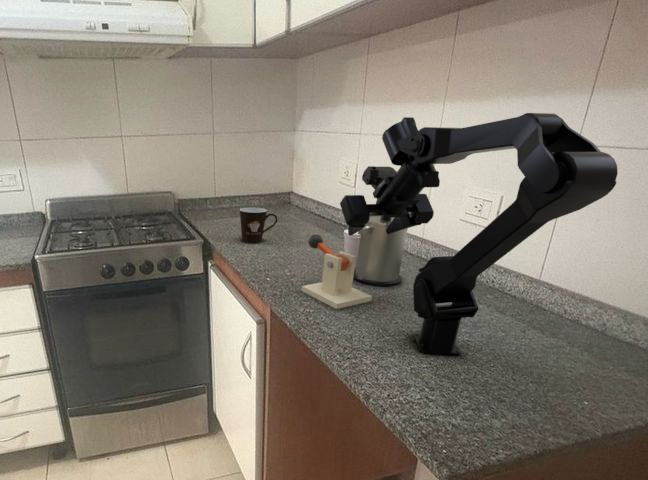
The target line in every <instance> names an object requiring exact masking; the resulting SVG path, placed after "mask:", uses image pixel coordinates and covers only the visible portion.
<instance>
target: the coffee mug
mask: <svg viewBox="0 0 648 480" xmlns="http://www.w3.org/2000/svg"><path fill="white" fill-rule="evenodd" d="M267 212H268V210H267V209H265V208H262V207H241V208H240V209H239V219H240V231H241V241H242V243H246V244H260V243H262V241H263V235H264V233H266V232H267V231H269V230H270V229H272V228H273V227H274V226H275V225H276V224H277V222H278V216H277V215H276V214H275V213H268V214H267ZM270 216H272V217H274V219H275V221H274V223H273V224H271V225H270V226H269V227H267V228H265V223H266V220H268V218H269V217H270Z"/></svg>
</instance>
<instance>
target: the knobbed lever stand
mask: <svg viewBox="0 0 648 480" xmlns="http://www.w3.org/2000/svg"><path fill="white" fill-rule="evenodd" d="M338 255H342V256H343V257H345V258H346V259H347V260H348V261H349V263H348V265H347V268H346V270H344V271H341V263H342V258H339V257H336V256H334V255H331V254H324V259H323V268H322V278H321V282H316V283H315V282H314V283H311V284H305V285H302V286H301V289H300V290H301V292H303V293H305V294H307V295H309V296H310V297H313V298H314V299H317V301H318V300H319V301H321V302H323V303H324V304H326V305H328V306H330V307H332V308H334V309H335V310H338V309H342V308H347V307H352V306H356V305H360V304H364V303H369V302H372V299H373V296H372V294H368V293H366V292H364V291H361V290H359V289H357V288H355V287H353V282H354V280H353V276H354V270H356V268H355V262H356V256H354V255H351V254H348V253H346V252H344V251H338Z"/></svg>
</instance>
